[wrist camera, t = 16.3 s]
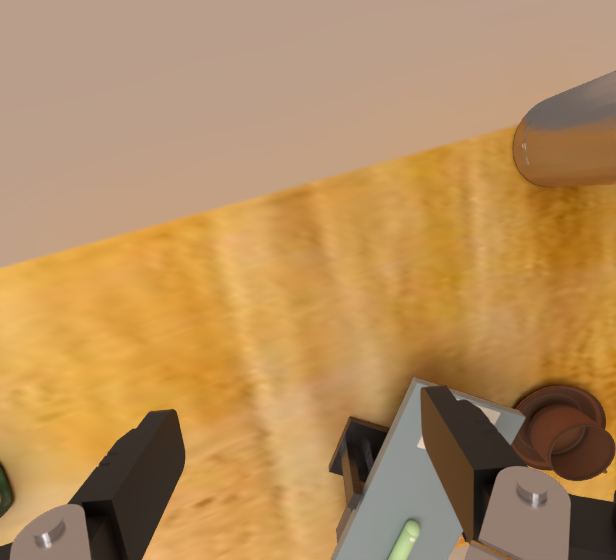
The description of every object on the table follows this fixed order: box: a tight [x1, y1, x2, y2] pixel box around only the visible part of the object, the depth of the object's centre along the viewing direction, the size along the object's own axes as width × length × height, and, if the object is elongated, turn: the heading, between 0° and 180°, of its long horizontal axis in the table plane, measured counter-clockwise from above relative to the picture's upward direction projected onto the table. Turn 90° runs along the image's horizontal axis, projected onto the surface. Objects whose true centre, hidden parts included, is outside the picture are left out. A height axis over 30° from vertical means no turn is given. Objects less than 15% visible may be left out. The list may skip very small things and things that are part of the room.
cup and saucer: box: [510, 385, 615, 481], centre depth 43 cm, size 12×12×6 cm
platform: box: [331, 377, 526, 560], centre depth 40 cm, size 25×12×7 cm, turn 161°
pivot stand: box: [329, 417, 468, 542], centre depth 42 cm, size 8×16×9 cm, turn 71°
